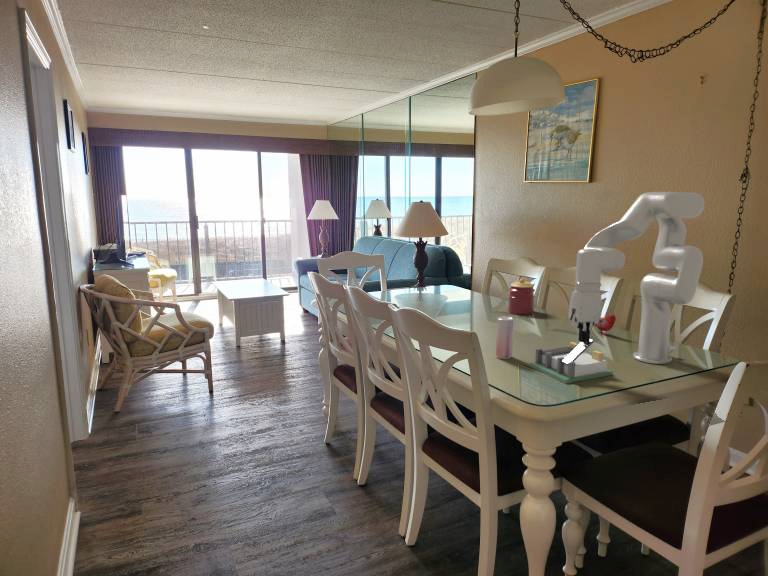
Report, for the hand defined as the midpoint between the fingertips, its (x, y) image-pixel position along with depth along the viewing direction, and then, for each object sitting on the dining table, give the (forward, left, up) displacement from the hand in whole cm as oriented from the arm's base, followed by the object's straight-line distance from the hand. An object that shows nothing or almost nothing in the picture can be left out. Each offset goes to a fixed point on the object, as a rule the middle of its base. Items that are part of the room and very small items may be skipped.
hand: (583, 341), depth 170 cm
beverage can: (+12, -27, -12) cm, 32 cm away
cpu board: (0, -6, -12) cm, 13 cm away
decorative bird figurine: (-45, -37, -12) cm, 60 cm away
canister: (-39, -84, -12) cm, 93 cm away
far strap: (+1, -11, -7) cm, 13 cm away
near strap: (+2, 0, -3) cm, 4 cm away
